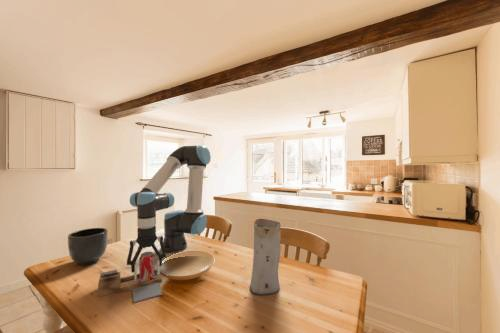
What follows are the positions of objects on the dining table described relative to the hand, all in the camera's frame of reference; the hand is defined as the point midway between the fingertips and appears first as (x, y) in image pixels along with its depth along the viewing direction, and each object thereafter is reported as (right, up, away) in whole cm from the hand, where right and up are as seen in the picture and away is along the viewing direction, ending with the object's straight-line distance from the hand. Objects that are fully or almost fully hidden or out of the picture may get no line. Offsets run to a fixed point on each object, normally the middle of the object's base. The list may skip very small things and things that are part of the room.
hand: (147, 275), depth 99 cm
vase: (+53, -2, -7) cm, 54 cm away
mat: (+4, -2, -10) cm, 11 cm away
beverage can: (0, -2, 0) cm, 2 cm away
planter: (-41, -2, +19) cm, 45 cm away
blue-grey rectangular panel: (-12, +4, -7) cm, 15 cm away
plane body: (-6, -2, -3) cm, 7 cm away
